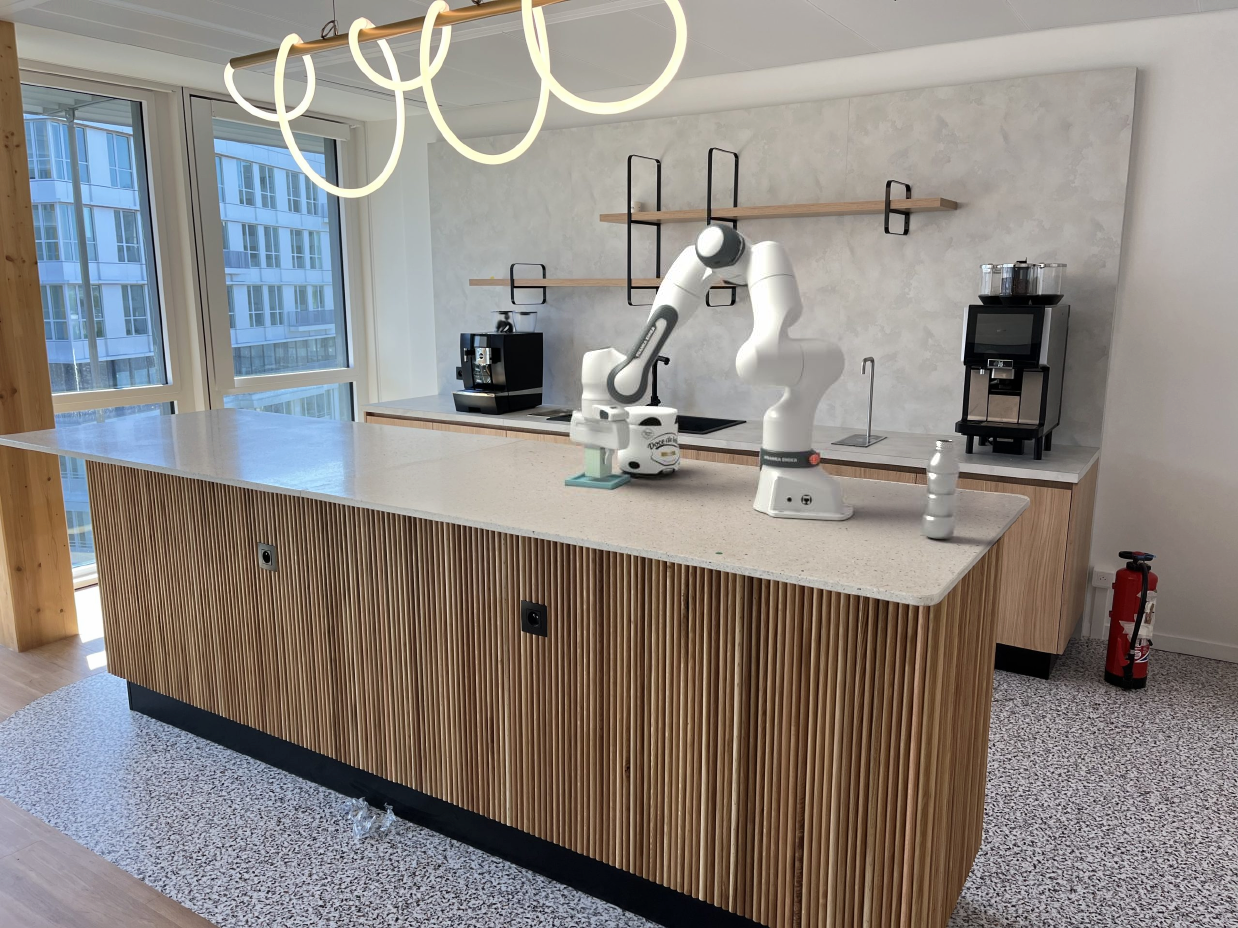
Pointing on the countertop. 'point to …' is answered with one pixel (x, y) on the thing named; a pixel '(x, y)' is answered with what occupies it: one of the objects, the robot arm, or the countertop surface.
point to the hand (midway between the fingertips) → (598, 462)
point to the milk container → (651, 442)
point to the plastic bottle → (941, 491)
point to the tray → (597, 481)
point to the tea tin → (596, 462)
